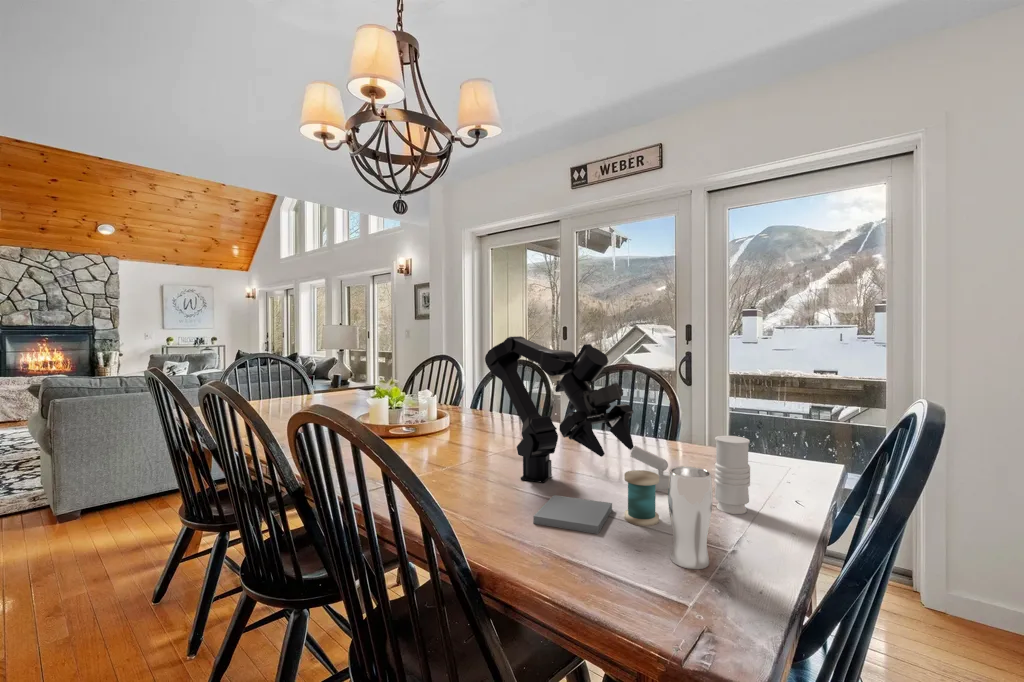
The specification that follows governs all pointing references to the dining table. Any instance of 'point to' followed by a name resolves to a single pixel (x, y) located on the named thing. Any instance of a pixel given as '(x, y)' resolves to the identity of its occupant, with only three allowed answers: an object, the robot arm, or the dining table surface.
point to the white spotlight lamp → (653, 465)
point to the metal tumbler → (690, 515)
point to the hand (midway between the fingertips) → (617, 451)
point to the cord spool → (641, 497)
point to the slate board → (573, 514)
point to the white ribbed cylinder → (732, 474)
